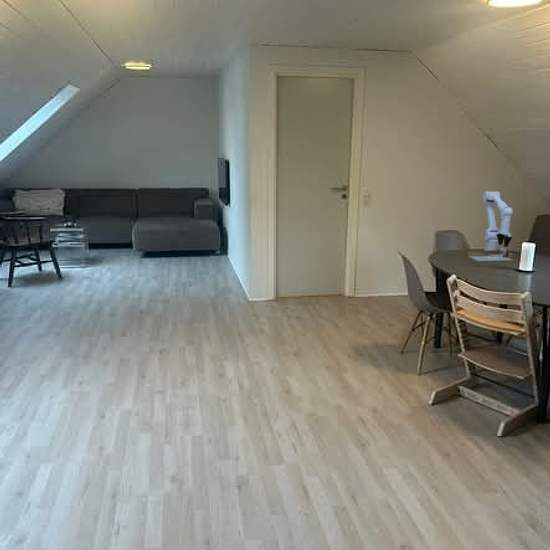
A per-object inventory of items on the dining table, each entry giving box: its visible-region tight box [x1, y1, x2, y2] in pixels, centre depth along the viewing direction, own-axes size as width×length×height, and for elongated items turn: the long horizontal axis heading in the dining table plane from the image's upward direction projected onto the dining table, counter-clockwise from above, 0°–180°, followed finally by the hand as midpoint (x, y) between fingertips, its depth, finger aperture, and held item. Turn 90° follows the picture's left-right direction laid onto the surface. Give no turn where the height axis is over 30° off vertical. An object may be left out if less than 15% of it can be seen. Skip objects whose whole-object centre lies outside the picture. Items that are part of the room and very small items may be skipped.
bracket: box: [488, 247, 507, 258], centre depth 380 cm, size 10×5×6 cm, turn 96°
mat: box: [467, 256, 513, 262], centre depth 379 cm, size 16×26×1 cm, turn 96°
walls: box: [467, 249, 517, 261], centre depth 378 cm, size 16×26×4 cm, turn 96°
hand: (503, 245), depth 379 cm, fingers open, 7 cm apart
